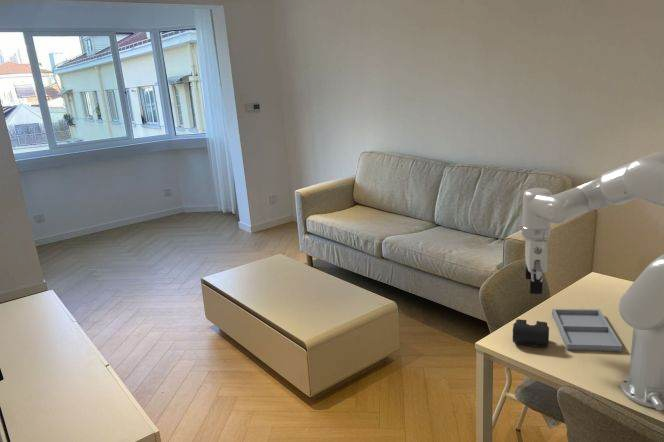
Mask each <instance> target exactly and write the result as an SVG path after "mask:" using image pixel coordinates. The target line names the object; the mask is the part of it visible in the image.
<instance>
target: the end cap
mask: <svg viewBox="0 0 664 442" xmlns="http://www.w3.org/2000/svg"><path fill="white" fill-rule="evenodd" d="M549 338H550V327H549V325H548V322H546V321H539V320H537V321H536V323H535V324H528V323H527V319H521V318H519V319H517V318H516V320H515V323H513V325H512V342H513V343H514V344H516V345H517V344H519V345H525V346H533V347H542V348H547V347H549V343H550V341H549Z"/></svg>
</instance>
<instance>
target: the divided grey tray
mask: <svg viewBox="0 0 664 442" xmlns="http://www.w3.org/2000/svg"><path fill="white" fill-rule="evenodd" d="M551 315H552V318H553V319H554V322H555V325H556V327H557V329H558V332H559V334H560V337H561V339H562V341H563V344H564V346H565V349H566V350H567V351H571V352H572V351H575V352H578V351H579V352H605V353H606V352H607V353H608V352H609V353H613V352H615V353H622V352H623V345H622V343H621V341H620V340H619V338H618V337H617V334H616V333H615V332H614V330H613V328H612V327H611V325H610V323H609V322H608V320H607V319H606V317H605V315H604V313H603V312H602V311H601V309H596V308H588V309H587V308H586V309H585V308H552V309H551Z"/></svg>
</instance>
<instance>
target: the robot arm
mask: <svg viewBox="0 0 664 442" xmlns="http://www.w3.org/2000/svg"><path fill="white" fill-rule="evenodd" d="M637 199H638V200H639V199H642V200H645V201H646V202H647V201H648V202H650V203H652V204H654V205H658V206H660V207H663V208H664V151H657V152H653V153H650V154H647V155H646V156H643V157H640V158H636V159H635V160H633V161H631V162H629V163H626V164H624V165H621V166H618V167H616V168H613V169H611V170H609V171H606V172H604V173H602V174H601V175H600V176H599V177H598V178H595V179H593V180H591V181H589V182H586V183H583V184H581V185H577V186H574V187H573V188H570V189H567V190H564V191H562V192H559V193H556V194H553V193H552V192H551V190H550V189H547V188H543V187H531V188H528V189H526V190H525V191H524V192H523V195H522V213H521V215H522V216H521V219H522V220H521V237H522V239H524V240H525V245H524V246H525V247H524V248H525V249H524V256H525V257H524V261H525V264H526V265H525V279H526V280H529V294H531V295H541V294H543V281H544V280H543V273H544V274H546V273H548V242H547V240H549V239H550V238H551V227H552V223H553V224H562V223H565V222H568V221H570V220H572V219H574V218H576V217H580V216H582V215H584V214H586V213H589V212H592V211H594V210H597V209H600V208H604V207H607V206H610V205H613V206H619V205H623V204H626V203H630V202H631V201H634V200H637ZM618 308H619V309H618V310H619V313H620V314H619V315H620V316H621V319H622V320H623V321H624V322H625V324H627V325H628V326H629V327H632V328H633V329H632V337H631V348H630V359H629V370H628V375H627V376H624V378H623V379H622V380H621V383H620V390H621V392H622V393H623V394H624V395H625V397H626V398H628V399H630V400H631V401H633V402H635V403H637V404H639V405H641V406H644V407H647V408H653V409H655V410H657V411H662V410H664V253H663V254H661V255H660V256H658V257H657V258H655V259H653V261H651V262H650V263H649V264H648V265H647V266H646V268H644V270H643V271H642V272H641V273H640V274H639V275H638V276H637V278H636V279H635V280H634V281H633V282H632V284H631V285H630V286H629V287H628V289H626V291H625V292H624V293H623V294H622V296H621V298H620V299H619V305H618Z"/></svg>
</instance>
